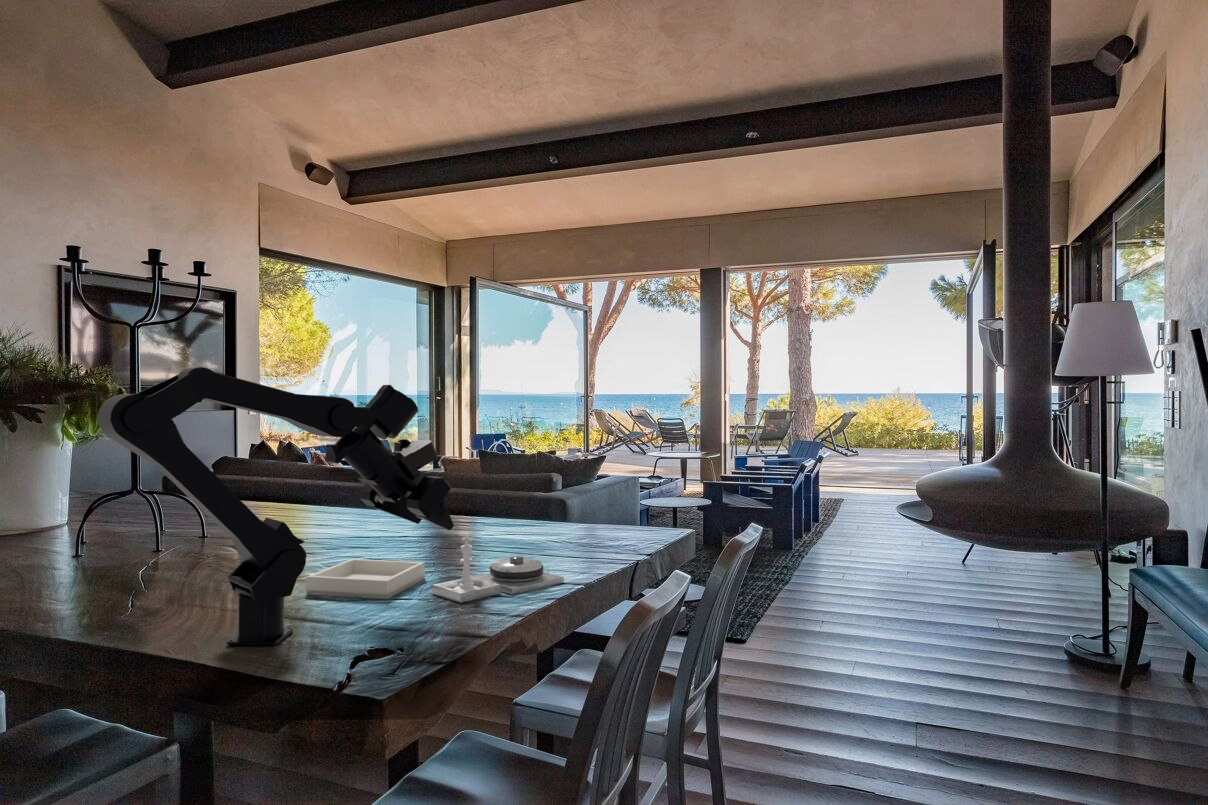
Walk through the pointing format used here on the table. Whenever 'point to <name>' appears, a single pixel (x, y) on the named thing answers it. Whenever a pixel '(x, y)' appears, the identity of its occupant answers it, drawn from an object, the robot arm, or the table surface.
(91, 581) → the table surface
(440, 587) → the bracket
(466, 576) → the chess piece
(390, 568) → the tray
